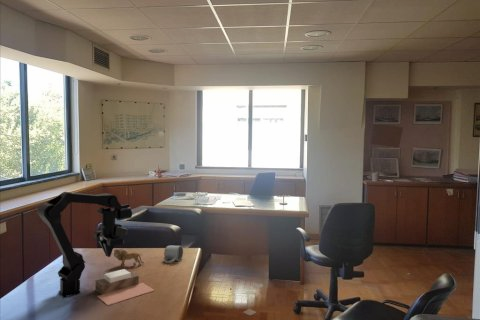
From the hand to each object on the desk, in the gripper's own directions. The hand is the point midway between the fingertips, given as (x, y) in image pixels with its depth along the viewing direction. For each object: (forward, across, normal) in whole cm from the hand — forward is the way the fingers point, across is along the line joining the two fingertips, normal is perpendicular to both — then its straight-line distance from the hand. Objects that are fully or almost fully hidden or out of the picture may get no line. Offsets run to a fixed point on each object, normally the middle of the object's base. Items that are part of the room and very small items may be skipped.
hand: (108, 256), depth 154 cm
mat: (+11, -18, 0) cm, 21 cm away
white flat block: (+6, -10, 0) cm, 11 cm away
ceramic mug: (+11, +4, -37) cm, 39 cm away
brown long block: (+11, -10, 0) cm, 15 cm away
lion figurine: (+11, +12, -15) cm, 22 cm away
